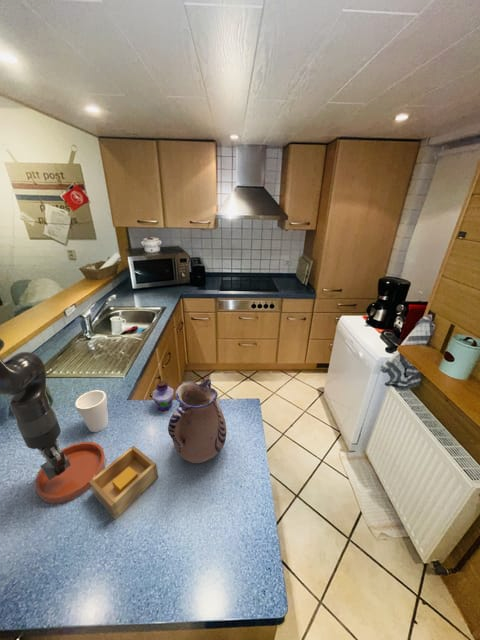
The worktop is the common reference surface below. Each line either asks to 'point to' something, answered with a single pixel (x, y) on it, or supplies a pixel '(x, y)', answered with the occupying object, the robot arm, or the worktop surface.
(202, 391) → the ceramic pitcher
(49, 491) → the terracotta plate
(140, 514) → the worktop surface
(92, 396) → the foam cup
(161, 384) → the potion bottle
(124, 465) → the box
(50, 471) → the gray block
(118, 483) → the yellow block
